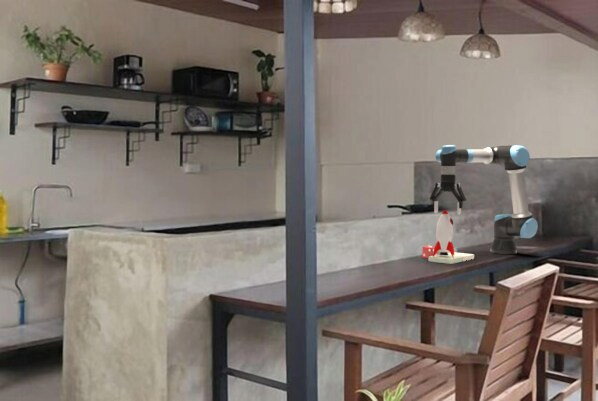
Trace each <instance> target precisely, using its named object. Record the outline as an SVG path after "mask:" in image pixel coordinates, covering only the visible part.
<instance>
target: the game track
mask: <svg viewBox="0 0 598 401" xmlns="http://www.w3.org/2000/svg"><path fill="white" fill-rule="evenodd" d="M453 257H454V258H453ZM453 257H452V255H451V253H448V255H434V257H433V256H429V258H428V262H431V263H440V264H448V265H452V264H457V263H458V264H459V263H461V262H465V261H466V260H467V261H471V259H472V260H474V259H475V254H473V253H464V252H457V253H456V252H454V255H453ZM467 261H466V262H467Z"/></svg>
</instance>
